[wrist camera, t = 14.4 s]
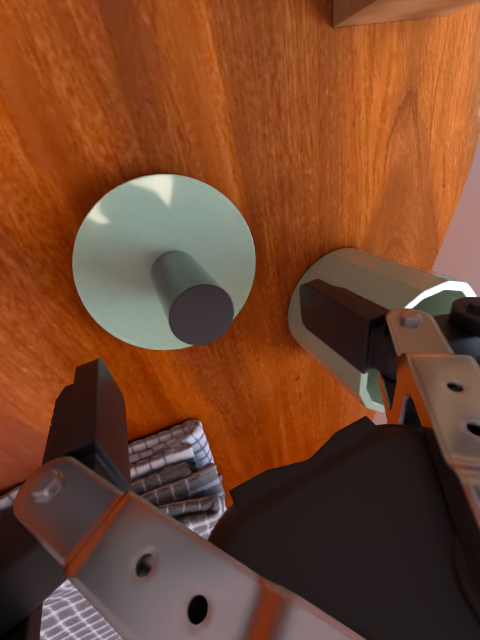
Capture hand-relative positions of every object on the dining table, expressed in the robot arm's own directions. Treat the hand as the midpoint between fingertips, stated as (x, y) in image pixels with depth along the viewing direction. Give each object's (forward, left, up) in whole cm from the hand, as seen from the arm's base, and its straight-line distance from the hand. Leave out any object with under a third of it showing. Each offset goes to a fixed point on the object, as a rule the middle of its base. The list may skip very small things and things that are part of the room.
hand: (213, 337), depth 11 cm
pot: (-13, +7, -9) cm, 17 cm away
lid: (0, 0, -8) cm, 8 cm away
